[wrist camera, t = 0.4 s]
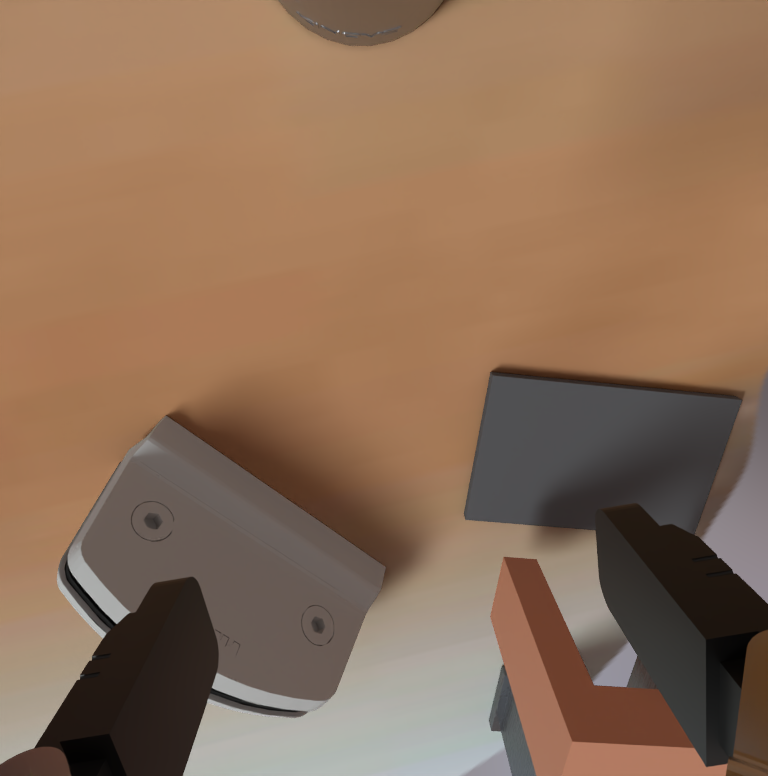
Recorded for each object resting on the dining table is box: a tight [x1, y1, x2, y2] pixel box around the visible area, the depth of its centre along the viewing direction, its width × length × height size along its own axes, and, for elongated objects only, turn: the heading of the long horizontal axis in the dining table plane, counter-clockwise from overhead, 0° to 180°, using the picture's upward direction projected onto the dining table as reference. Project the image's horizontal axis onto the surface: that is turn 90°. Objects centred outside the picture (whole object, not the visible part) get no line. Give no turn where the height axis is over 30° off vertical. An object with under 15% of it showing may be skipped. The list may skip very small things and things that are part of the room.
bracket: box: [489, 656, 658, 776], centre depth 30 cm, size 18×5×14 cm, turn 174°
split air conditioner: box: [57, 416, 386, 718], centre depth 30 cm, size 17×5×10 cm, turn 49°
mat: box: [464, 372, 742, 535], centre depth 32 cm, size 9×14×1 cm, turn 84°
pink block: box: [490, 557, 727, 776], centre depth 26 cm, size 4×11×10 cm, turn 84°
